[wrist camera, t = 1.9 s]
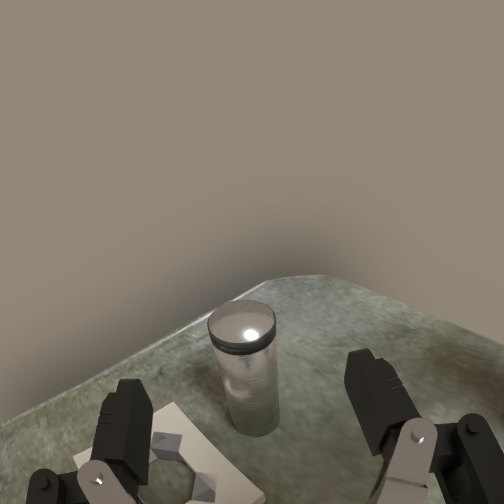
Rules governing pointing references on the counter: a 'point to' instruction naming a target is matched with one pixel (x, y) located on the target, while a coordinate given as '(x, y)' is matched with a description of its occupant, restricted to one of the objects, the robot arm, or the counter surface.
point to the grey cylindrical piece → (247, 364)
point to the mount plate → (195, 460)
